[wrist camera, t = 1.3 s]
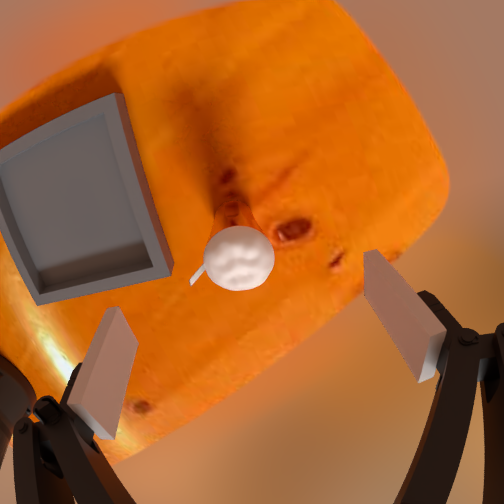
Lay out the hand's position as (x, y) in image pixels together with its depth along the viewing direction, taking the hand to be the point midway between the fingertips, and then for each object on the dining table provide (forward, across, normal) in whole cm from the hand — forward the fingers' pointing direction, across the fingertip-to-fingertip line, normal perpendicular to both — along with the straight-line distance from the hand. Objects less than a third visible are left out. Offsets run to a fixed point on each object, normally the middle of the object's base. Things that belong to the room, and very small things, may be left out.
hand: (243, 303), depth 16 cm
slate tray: (+13, -14, +5) cm, 20 cm away
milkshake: (+13, 0, 0) cm, 13 cm away
